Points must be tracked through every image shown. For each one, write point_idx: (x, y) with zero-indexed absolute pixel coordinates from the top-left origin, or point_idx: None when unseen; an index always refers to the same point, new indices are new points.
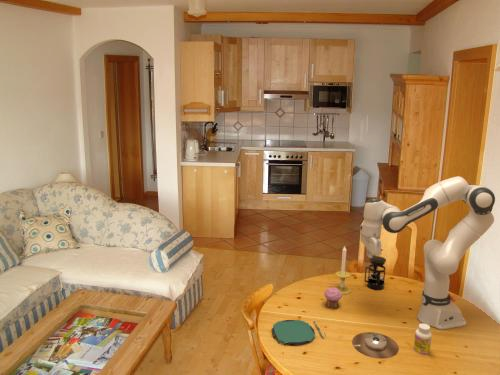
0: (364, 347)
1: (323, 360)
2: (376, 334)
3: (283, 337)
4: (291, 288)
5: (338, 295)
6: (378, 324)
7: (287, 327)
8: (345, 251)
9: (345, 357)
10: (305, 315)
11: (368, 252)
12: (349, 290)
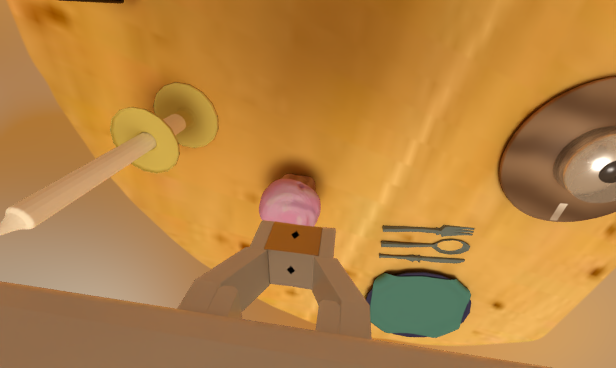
0: None
1: (549, 286)
2: (588, 157)
3: (430, 324)
4: (195, 247)
5: (313, 205)
6: (454, 77)
7: (392, 308)
8: (39, 210)
9: (570, 244)
10: (340, 260)
11: (264, 280)
12: (188, 91)
